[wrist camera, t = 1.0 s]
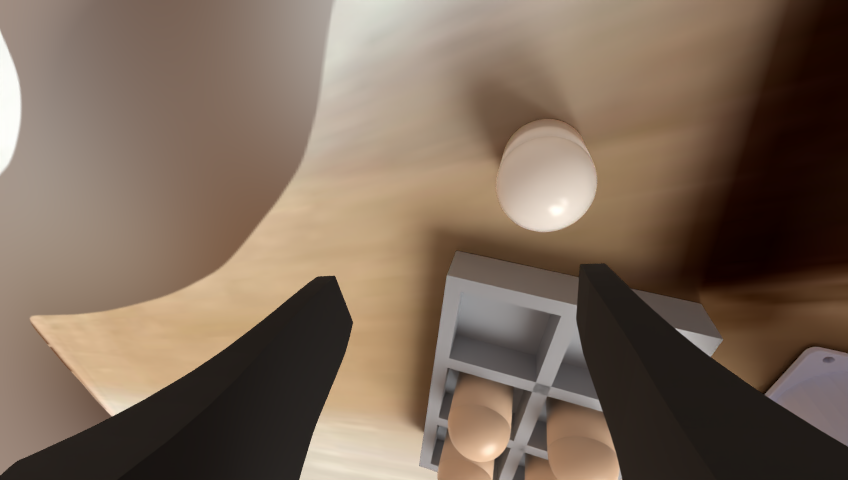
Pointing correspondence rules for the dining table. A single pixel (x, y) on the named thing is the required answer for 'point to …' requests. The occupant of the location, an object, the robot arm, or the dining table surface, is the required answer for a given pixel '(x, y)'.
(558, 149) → the white egg
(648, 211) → the dining table surface
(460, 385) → the egg carton
